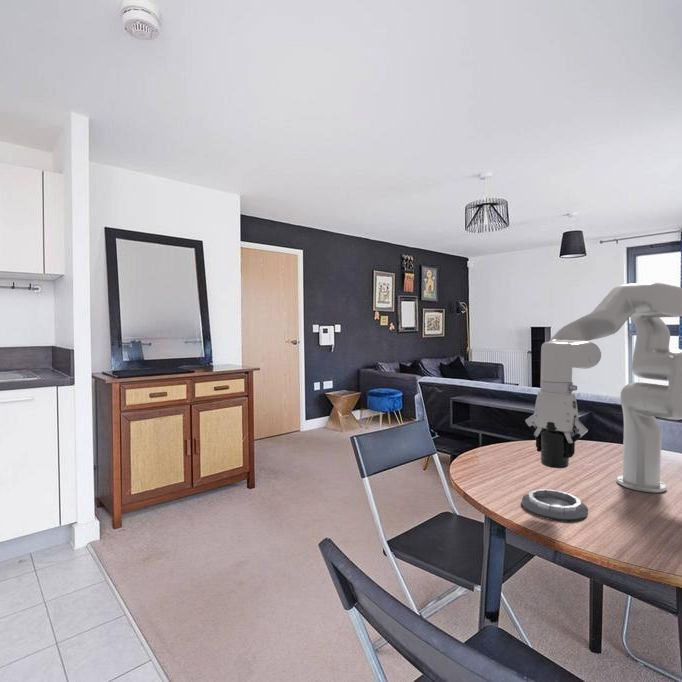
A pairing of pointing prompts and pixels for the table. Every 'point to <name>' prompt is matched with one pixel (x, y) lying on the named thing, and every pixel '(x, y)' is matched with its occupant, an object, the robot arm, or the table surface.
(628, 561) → the table surface
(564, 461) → the supplement bottle
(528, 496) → the rosette plate
